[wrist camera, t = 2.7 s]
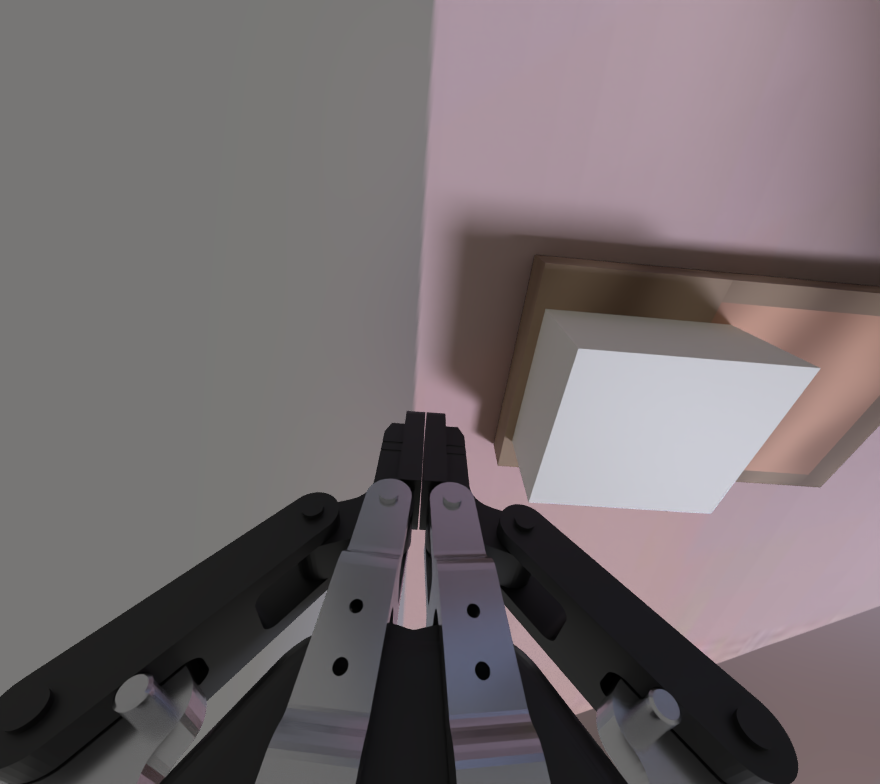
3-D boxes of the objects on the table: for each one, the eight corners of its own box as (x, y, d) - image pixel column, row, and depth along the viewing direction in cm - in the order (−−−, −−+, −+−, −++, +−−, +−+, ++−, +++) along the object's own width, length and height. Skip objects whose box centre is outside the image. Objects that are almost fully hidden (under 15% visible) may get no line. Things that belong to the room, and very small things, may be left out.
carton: (730, 324, 16) (820, 368, 12) (660, 451, 20) (710, 513, 16) (545, 308, 16) (578, 348, 12) (512, 441, 20) (528, 502, 16)
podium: (940, 292, 17) (994, 303, 16) (792, 465, 24) (820, 487, 22) (534, 255, 16) (545, 263, 15) (493, 444, 23) (497, 465, 21)
